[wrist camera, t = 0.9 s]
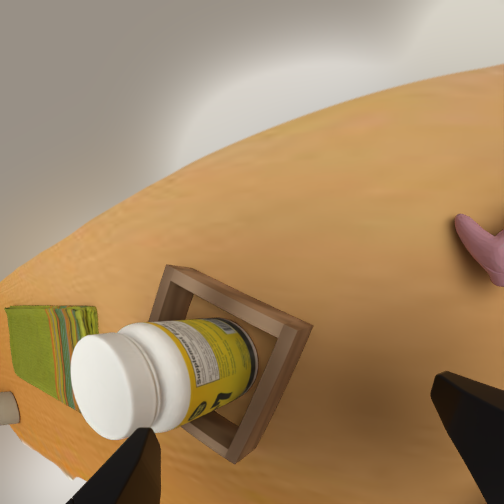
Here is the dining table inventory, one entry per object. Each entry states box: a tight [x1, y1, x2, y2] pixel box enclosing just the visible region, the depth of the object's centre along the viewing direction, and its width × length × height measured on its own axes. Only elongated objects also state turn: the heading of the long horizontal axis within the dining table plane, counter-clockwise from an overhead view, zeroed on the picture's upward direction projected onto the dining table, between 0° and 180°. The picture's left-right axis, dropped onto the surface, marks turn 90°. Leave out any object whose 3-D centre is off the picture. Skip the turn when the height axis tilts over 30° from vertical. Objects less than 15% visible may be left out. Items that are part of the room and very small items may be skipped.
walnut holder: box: [149, 265, 313, 464], centre depth 24 cm, size 12×12×4 cm
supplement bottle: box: [71, 318, 258, 440], centre depth 20 cm, size 7×7×13 cm
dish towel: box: [5, 305, 99, 413], centre depth 40 cm, size 15×36×3 cm, turn 94°
